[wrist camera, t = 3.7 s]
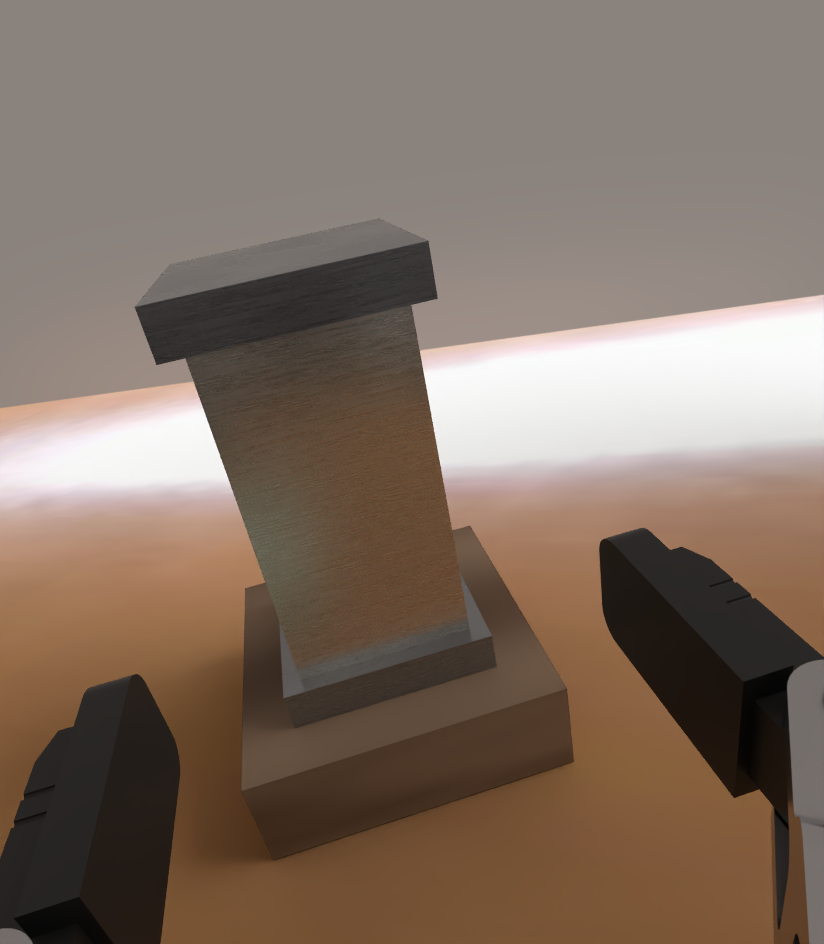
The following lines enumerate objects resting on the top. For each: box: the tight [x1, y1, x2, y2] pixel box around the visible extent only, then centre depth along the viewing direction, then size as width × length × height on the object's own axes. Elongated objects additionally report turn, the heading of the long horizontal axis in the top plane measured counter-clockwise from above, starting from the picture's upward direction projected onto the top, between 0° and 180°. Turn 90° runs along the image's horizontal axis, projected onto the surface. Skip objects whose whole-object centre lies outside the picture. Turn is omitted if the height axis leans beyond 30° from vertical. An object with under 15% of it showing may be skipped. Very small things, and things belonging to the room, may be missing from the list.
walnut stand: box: [241, 526, 574, 860], centre depth 22 cm, size 9×9×3 cm
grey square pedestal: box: [135, 219, 497, 728], centre depth 18 cm, size 6×6×12 cm
